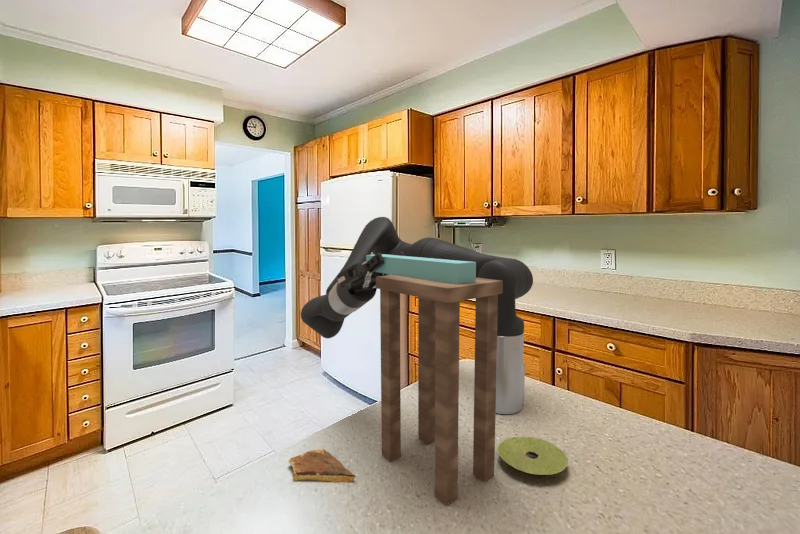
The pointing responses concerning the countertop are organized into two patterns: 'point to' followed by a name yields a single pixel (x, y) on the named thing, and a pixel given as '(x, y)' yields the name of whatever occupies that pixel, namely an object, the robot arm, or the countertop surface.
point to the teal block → (428, 268)
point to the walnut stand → (441, 372)
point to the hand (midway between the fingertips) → (392, 257)
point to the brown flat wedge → (319, 467)
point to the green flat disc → (533, 455)
